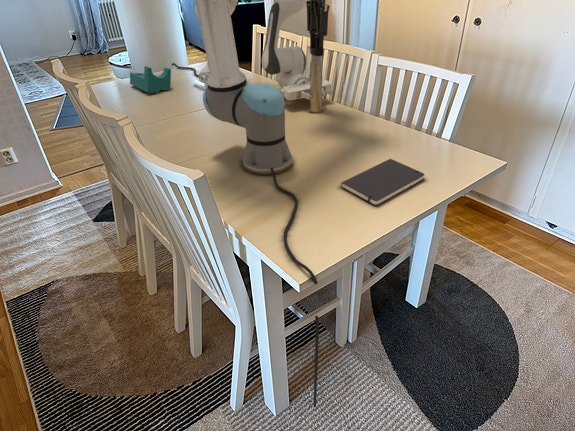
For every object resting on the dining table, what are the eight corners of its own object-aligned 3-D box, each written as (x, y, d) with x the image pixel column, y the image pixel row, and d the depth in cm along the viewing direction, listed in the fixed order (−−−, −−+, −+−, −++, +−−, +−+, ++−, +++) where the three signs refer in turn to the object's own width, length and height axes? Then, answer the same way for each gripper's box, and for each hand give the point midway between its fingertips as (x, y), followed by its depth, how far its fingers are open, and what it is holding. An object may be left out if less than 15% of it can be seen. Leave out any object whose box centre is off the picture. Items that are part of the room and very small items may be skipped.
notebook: (389, 163, 124) (340, 187, 113) (390, 158, 123) (341, 182, 112) (424, 178, 116) (375, 206, 105) (425, 174, 115) (376, 201, 104)
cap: (324, 54, 148) (324, 47, 146) (315, 56, 146) (315, 49, 145) (317, 52, 151) (318, 45, 149) (309, 53, 149) (309, 47, 148)
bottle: (307, 110, 161) (307, 49, 148) (315, 107, 164) (316, 47, 150) (315, 113, 158) (316, 51, 145) (323, 110, 161) (325, 49, 147)
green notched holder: (170, 93, 186) (171, 69, 181) (147, 92, 179) (148, 67, 174) (151, 84, 197) (152, 61, 192) (130, 83, 190) (130, 60, 185)
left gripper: (277, 82, 161) (293, 92, 151) (320, 74, 169) (339, 83, 159) (277, 97, 165) (293, 108, 155) (320, 89, 172) (338, 98, 162)
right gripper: (340, -17, 130) (336, 58, 143) (316, -22, 142) (315, 48, 156) (319, -16, 127) (317, 61, 141) (297, -21, 140) (297, 50, 154)
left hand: (317, 95), depth 157 cm, fingers closed on bottle, 5 cm apart
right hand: (316, 54), depth 148 cm, fingers closed on cap, 4 cm apart
